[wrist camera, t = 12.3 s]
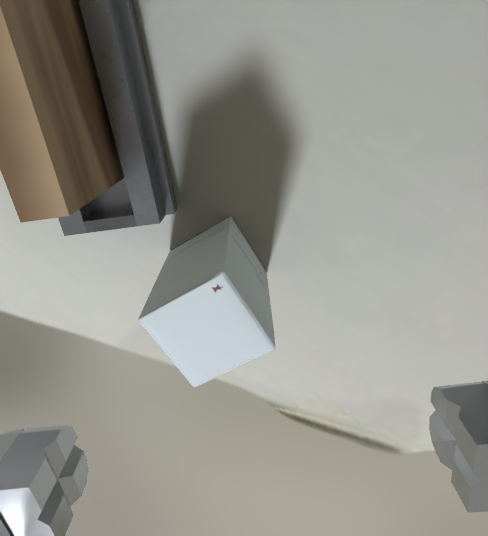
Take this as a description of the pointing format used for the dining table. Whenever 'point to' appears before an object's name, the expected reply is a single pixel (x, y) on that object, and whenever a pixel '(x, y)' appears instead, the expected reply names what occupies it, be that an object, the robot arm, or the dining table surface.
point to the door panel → (52, 111)
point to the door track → (125, 125)
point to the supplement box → (211, 305)
